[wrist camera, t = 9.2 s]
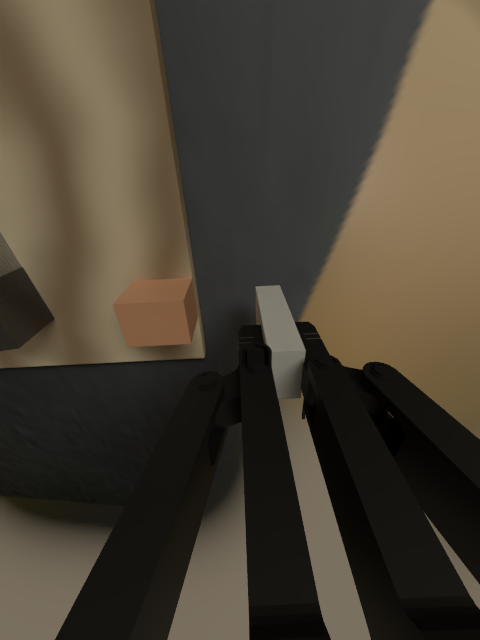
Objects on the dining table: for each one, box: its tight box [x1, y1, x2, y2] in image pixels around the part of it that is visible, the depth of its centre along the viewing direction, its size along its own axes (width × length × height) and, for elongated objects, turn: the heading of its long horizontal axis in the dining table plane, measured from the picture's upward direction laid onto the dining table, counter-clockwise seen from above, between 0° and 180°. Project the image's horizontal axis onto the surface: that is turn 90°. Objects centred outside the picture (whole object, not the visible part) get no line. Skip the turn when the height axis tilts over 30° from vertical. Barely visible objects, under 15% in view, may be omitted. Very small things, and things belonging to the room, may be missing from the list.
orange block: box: [112, 278, 198, 347], centre depth 16 cm, size 4×3×4 cm
